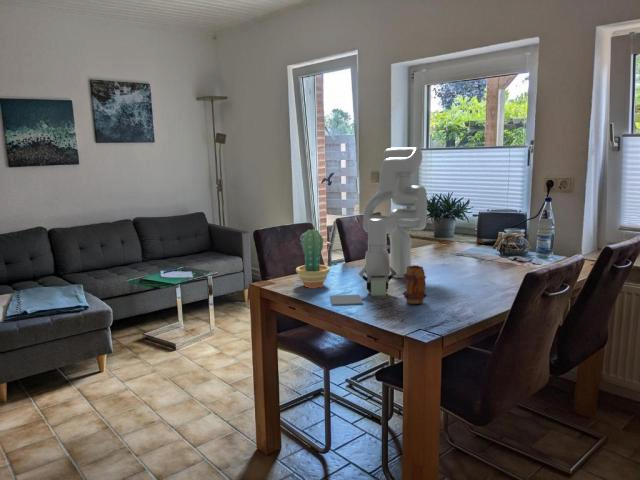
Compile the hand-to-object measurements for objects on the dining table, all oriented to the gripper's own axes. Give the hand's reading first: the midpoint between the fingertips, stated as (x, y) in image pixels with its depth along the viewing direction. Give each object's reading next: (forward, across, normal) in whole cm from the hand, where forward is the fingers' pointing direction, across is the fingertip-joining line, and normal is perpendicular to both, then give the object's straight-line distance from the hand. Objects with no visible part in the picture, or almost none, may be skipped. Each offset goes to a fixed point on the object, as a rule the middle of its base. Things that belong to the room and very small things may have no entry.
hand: (377, 290), depth 208 cm
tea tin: (+1, 0, 0) cm, 1 cm away
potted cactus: (+1, +26, -16) cm, 31 cm away
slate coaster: (+1, +14, +9) cm, 17 cm away
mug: (+1, -12, +18) cm, 22 cm away
